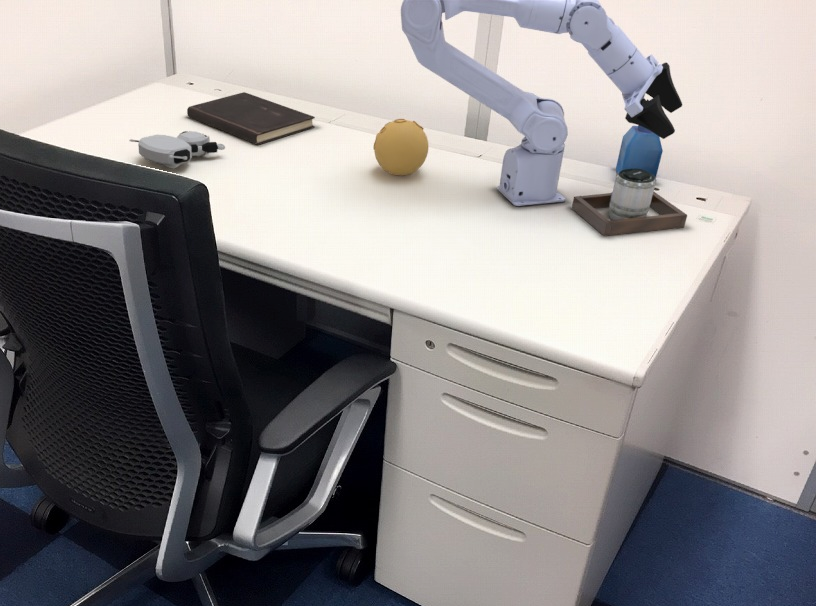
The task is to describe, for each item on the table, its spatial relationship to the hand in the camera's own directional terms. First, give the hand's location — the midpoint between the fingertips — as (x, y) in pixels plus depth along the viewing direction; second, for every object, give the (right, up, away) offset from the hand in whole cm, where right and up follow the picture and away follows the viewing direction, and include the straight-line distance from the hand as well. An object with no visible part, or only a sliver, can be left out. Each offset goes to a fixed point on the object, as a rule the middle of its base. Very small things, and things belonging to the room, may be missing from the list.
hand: (673, 121), depth 139 cm
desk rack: (-6, -15, +4) cm, 17 cm away
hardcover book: (-72, +13, +42) cm, 84 cm away
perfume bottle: (+1, -5, +19) cm, 19 cm away
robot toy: (-84, 0, +25) cm, 88 cm away
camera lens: (-6, -15, +4) cm, 17 cm away
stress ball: (-42, -4, +19) cm, 47 cm away
